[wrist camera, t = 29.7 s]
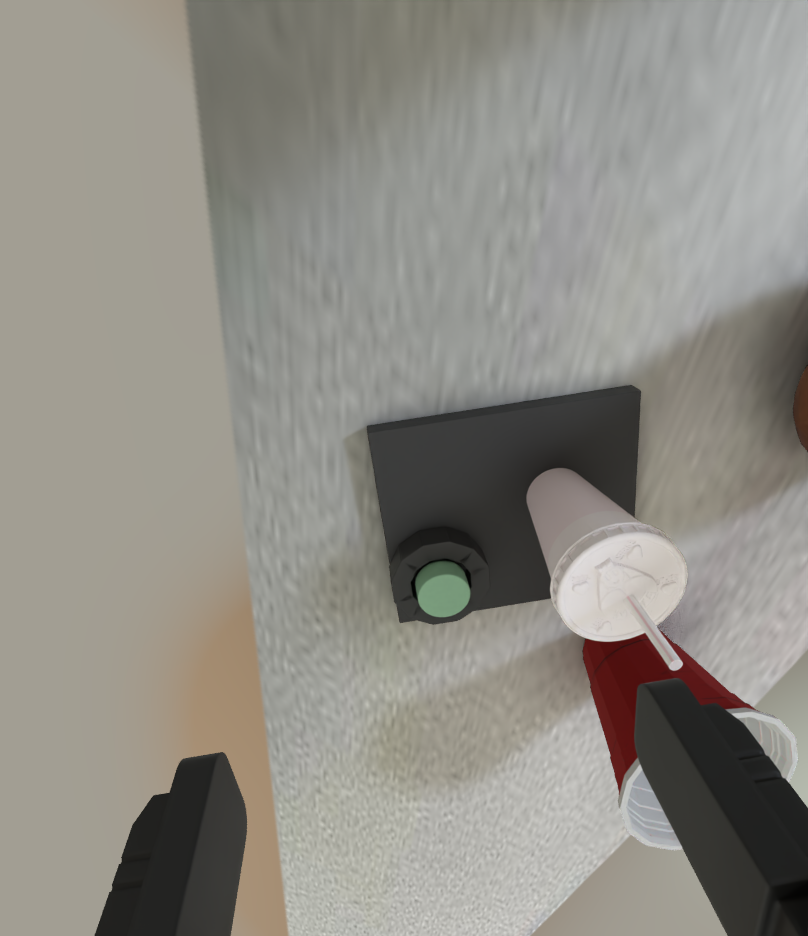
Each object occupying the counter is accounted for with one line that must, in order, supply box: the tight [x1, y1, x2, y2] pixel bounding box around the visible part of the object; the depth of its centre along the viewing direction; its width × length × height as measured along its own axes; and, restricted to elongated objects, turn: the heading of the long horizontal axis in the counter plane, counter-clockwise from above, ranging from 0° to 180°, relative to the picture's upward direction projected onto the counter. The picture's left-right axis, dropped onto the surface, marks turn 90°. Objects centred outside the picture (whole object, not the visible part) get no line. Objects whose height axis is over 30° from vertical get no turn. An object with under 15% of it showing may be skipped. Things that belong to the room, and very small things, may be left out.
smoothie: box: [526, 468, 688, 670], centre depth 29 cm, size 6×6×14 cm
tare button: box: [415, 560, 470, 617], centre depth 35 cm, size 3×3×2 cm
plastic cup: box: [583, 630, 798, 850], centre depth 38 cm, size 11×11×12 cm
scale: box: [367, 385, 641, 625], centre depth 36 cm, size 14×16×3 cm
